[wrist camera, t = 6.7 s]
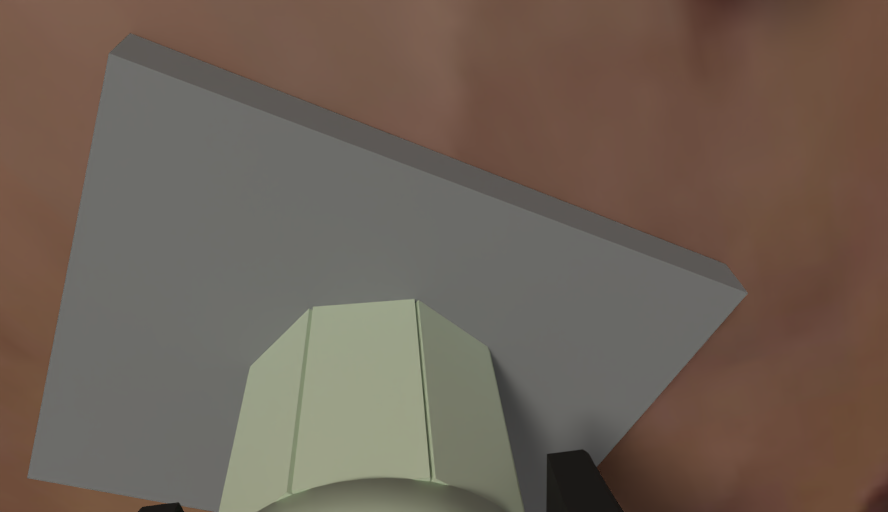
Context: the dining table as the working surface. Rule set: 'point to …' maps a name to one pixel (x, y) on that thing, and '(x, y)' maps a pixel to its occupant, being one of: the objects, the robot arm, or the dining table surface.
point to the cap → (372, 418)
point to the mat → (330, 280)
